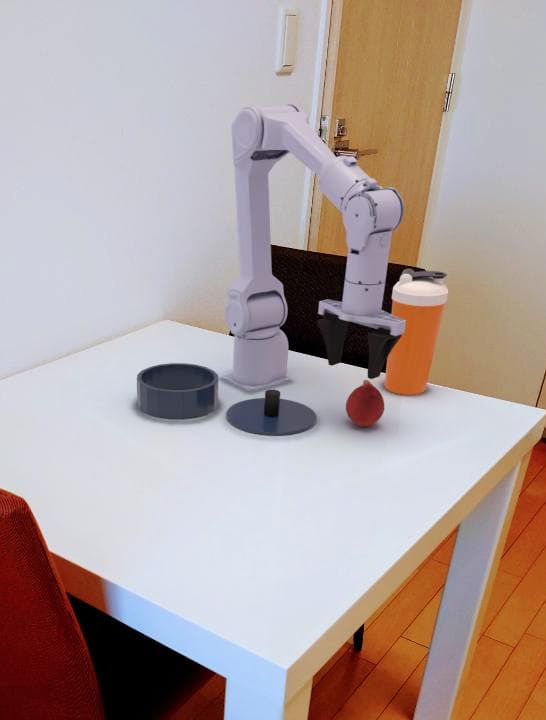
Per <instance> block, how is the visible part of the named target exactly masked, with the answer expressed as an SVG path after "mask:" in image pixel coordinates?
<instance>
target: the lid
mask: <svg viewBox="0 0 546 720" xmlns="http://www.w3.org/2000/svg"><path fill="white" fill-rule="evenodd" d="M226 420H227V422H228V423H229V424H230V425H231V426H233V427H235V429H239V430H241V431H244V432H247V433H251V434H254V435H260V436H277V437H278V436H290V435H296V434H300V433H303V432H305V431H308V430H310V429H311V428H312V427H314V425H316V423H317V413H316V412H315V411H314V410H313V409H312V408H311V407H309V406H307V405H305V404H303V403H301V402H298V401H294V400H290V399H286V398H281V391H280V390H278V389H267V390H265V392H264V397H259V398H256V397H255V398H249V399H245V400H241V401H239V402H236V403H234V404H232V405H230V407H229V408H228V409H227V411H226Z"/></svg>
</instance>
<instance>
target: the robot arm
mask: <svg viewBox="0 0 546 720" xmlns="http://www.w3.org/2000/svg"><path fill="white" fill-rule="evenodd" d="M309 123H310V122H309V115H308V113H306V112H305V111H303V110H302V109H301V108H300V107H299V106H298V105H296V104H294V103H290V104H289V103H287V104H286V105H271V106H253V105H248V106H244V107H243V108H241V109H240V111H239V112H238V114H237V115H236V116H235V118H234V120H233V122H232V124H231V126H230V127H231V145H232V146H231V147H232V164H233V165H234V185H235V187H234V189H235V200H236V201H235V204H236V205H235V206H236V223H237V224H236V225H237V227H236V228H237V242H238V243H237V245H238V263H239V264H238V265H239V276H238V278H237V279H236V280H235V281H234V282H233V283H232V285H230V287H228V289H227V291H226V292H227V293H226V295H227V296H226V298H227V299H226V300H227V301H226V305H225V310H224V320H225V322H226V325H227V328H228V329H229V331H230V333H231V334H232V335H234V337H233V338H234V339H233V340H234V341H233V360H232V361H233V362H232V373H231V374H226V375H223V376H222V379H226V380H227V381H230V382H231V383H234V384H236V385H238V386H240V387H242V388H245V389H246V390H255V389H259V388H262V387H265V386H269V385H273V384H277V383H280V382H285V381H288V380H290V377H288V376H287V370H288V360H289V340H288V337H287V335H286V334H285V332H284V331H283V330H282V329H280V327H281V326H283V325H284V324H285V323H286V321H287V318H288V312H289V311H288V303H287V300H286V297H285V294H284V284H283V283H282V282H281V281H280V280H279V279H278V278H277V277H276V276H274V275H273V272H272V271H273V270H272V268H273V267H272V245H271V243H272V242H271V241H272V240H271V217H270V216H271V214H270V212H271V211H270V188H269V187H270V186H269V173H270V172H271V170H272V169H273V168H274V166H276V164H277V163H278V162H280V161H281V160H282V159H284V158H285V157H286V156H287V155H289V154H291V155H293V157H294V158H296V159H297V160H298V161H300V162H301V163H302V164H303V165H304V166H305V167H306V168H307V169H308V170H310V171H311V172H312V173H313V174H315V175H316V176H317V177H318V179H317V186H318V190H319V191H320V192H321V193H322V195H324V197H326V198H327V199H328V200H329V201H330V202H331V203H332V204H333V205H334V206H335V207H336V209H337V210H338V211H339V212H340V213H341V214H342V223H343V226H344V229H345V232H346V239H345V243H346V247H348V248H347V258H346V266H345V267H346V268H345V276H344V282H343V283H344V284H343V293H342V301H339V300H333V299H328V298H327V299H324V300H320V301H318V311H317V314H318V315H320V316H322V318H320V319H318V320H317V327H318V328H319V330H320V332H321V335H322V338H323V341H324V345H325V349H326V356H327V362H328V365H329V366H330V367H332V366H335V365H338V364H341V361H342V358H343V351H344V344H345V340H346V335H347V332H348V328H349V326H350V323H351V322H352V323H355V324H358V325H361V326H365V327H368V328H372V329H376V331H372V332H369V333H367V335H366V338H367V344H368V364H367V379H369V380H373V379H377V378H379V377H380V376H381V373H382V370H383V369H384V366H385V364H386V362H387V357H388V355H389V354H390V352H391V350H392V349H393V347H394V346H395V344H396V343H397V342H398V340H399V339H400V338H401V336H402V334H404V330H405V324H406V320H403V319H400V318H398V317H395V316H393V315H391V313H389V312H387V311H384V310H383V309H382V308H383V301H384V293H385V287H386V279H387V271H388V265H389V258H390V252H391V251H390V250H391V243H392V235H393V232H394V231H395V230H397V229H398V228H399V227H400V225H401V224H402V222H403V220H404V216H405V204H404V200H403V198H402V196H401V194H400V193H399V192H398V190H397V189H396V188H394V187H390V186H389V187H382V186H381V185H378V181H377V180H376V179H375V178H374V177H370V176H369V175H368V174H367V173H366V172H365V171H364V170H363V169H362V168H361V167H359V165H358V162H359V161H358V159H356V158H355V157H354V156H347V155H339V156H336V155H335V154H334V152H333V151H332V150H331V149H330V148H329V146H328V145H327V144H326V143H325V142H324V141H323V139H322V138H321V137H320V136H319V135H318V134H317V133H316V131H315V130H314V129H313V128H312V126H311V125H310V124H309Z"/></svg>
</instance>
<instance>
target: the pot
mask: <svg viewBox="0 0 546 720" xmlns="http://www.w3.org/2000/svg"><path fill="white" fill-rule="evenodd" d="M218 401H219V374H218V373H216V371H215V370H213V369H212V368H209V367H207V366H203V365H199V364H195V363H194V364H193V363H183V362H170V363H160V364H156V365H151V366H149V367H146V368H144V369H142V370H140V372H139V373H137V375H136V404H137V405H136V406H137V408H138V409H139V411H141V412H142V413H143V414H145V415H148V416H150V417H154V418H158V419H163V420H169V421H170V420H172V421H173V420H175V421H177V420H179V421H180V420H181V421H183V420H192V419H197V418H201V417H205V416H208V415H210V414H212V413H214V412H215V410H217V408H218V403H219V402H218Z"/></svg>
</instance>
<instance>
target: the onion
mask: <svg viewBox="0 0 546 720" xmlns="http://www.w3.org/2000/svg"><path fill="white" fill-rule="evenodd" d="M345 412H346V415H347V417H348V418H349V419H350V420H351V421H352V423H353V424H355V425H356V426H357V427H359V428H368V427H370V426H372V425H374V424H375V423H377V422H378V421H379V420H380V419H381V418H382V416H383V415H384V412H385V401H384V397H383V395H382V393H381V392H380V390H379V389H378V388H377V387H375V386H374V385H373V384H372V383H371V382H370V380H368V379H364V380H363V383H362V385H360V386H358V387H356V388H355V389H353V391H352V392H351V393H350V394H349V395H348V397H347V399H346V403H345Z"/></svg>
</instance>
